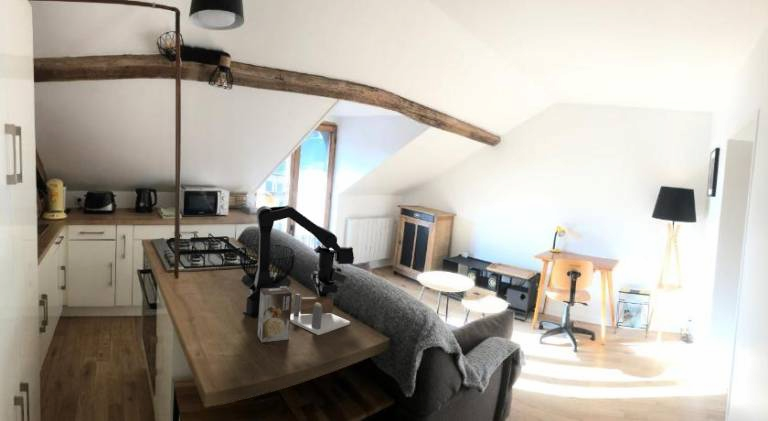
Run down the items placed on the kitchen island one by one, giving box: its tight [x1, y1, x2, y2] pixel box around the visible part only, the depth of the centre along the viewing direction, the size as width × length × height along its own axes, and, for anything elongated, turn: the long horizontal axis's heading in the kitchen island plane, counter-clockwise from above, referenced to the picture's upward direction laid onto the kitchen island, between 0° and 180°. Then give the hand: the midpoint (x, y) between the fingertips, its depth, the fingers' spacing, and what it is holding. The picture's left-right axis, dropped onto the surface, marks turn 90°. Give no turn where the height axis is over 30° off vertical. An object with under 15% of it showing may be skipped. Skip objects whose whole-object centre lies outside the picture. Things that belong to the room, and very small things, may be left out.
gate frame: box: [290, 293, 351, 336], centre depth 167 cm, size 16×18×10 cm
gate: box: [299, 296, 335, 314], centre depth 171 cm, size 2×12×6 cm, turn 113°
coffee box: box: [257, 286, 293, 343], centre depth 149 cm, size 9×6×16 cm
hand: (322, 302), depth 177 cm, fingers closed
